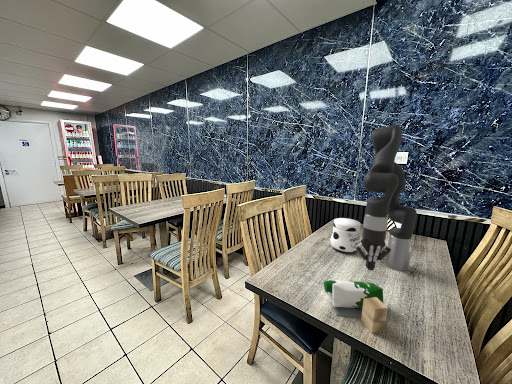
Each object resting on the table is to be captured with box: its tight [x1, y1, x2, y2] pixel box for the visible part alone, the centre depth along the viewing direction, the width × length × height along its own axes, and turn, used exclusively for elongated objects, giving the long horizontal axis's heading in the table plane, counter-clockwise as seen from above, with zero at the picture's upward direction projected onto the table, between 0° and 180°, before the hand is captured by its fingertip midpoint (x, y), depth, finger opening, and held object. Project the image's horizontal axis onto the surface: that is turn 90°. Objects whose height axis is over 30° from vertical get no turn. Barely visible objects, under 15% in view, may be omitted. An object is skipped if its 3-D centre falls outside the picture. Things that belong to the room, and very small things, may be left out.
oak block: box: [360, 297, 389, 334], centre depth 68 cm, size 5×5×9 cm
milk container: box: [330, 217, 362, 254], centre depth 125 cm, size 17×17×18 cm
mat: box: [326, 292, 363, 318], centre depth 79 cm, size 16×15×1 cm
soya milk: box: [323, 279, 385, 308], centre depth 77 cm, size 9×9×20 cm
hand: (369, 269), depth 77 cm, fingers closed
